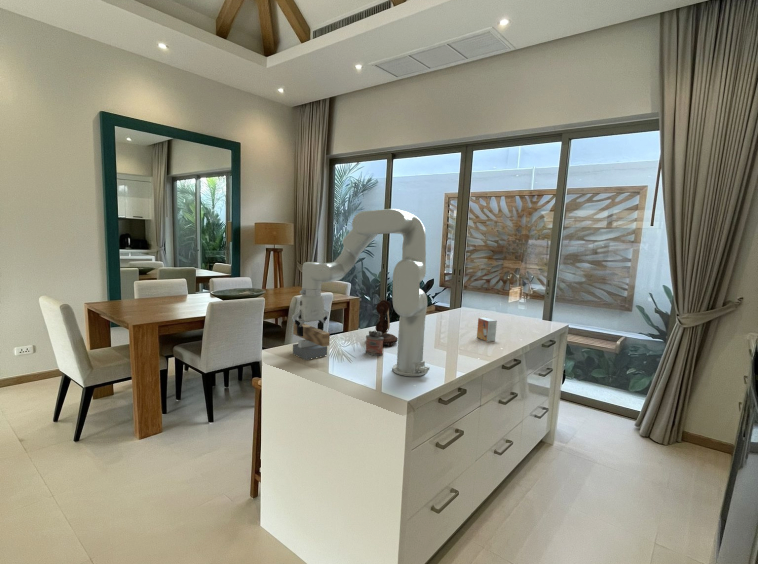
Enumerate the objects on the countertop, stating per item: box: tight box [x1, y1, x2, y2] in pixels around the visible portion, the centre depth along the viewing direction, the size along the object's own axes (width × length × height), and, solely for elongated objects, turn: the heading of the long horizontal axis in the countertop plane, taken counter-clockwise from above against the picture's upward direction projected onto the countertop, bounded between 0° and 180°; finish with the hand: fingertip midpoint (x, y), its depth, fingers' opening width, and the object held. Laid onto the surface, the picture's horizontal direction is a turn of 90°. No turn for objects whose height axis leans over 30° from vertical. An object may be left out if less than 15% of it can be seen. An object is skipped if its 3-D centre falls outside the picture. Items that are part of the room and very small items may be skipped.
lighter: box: [364, 329, 384, 357], centre depth 167 cm, size 8×3×10 cm, turn 62°
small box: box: [476, 317, 498, 342], centre depth 202 cm, size 8×6×10 cm
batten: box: [292, 322, 331, 347], centre depth 161 cm, size 22×3×5 cm, turn 43°
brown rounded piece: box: [375, 299, 398, 347], centre depth 185 cm, size 15×15×20 cm
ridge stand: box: [292, 339, 328, 361], centre depth 162 cm, size 10×10×6 cm
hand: (310, 334), depth 161 cm, fingers open, 9 cm apart
